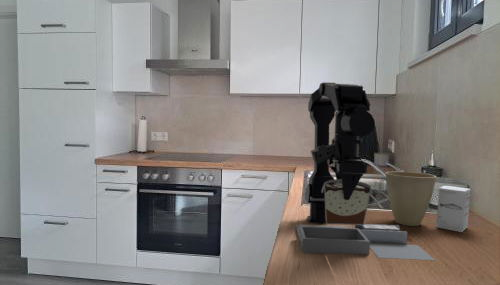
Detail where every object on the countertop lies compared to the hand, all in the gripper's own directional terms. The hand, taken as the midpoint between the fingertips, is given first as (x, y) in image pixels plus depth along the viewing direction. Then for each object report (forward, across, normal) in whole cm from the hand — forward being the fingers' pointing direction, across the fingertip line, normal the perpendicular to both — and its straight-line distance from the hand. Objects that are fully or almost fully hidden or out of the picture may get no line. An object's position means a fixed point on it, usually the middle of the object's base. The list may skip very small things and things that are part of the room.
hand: (343, 197), depth 87 cm
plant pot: (+13, -27, +26) cm, 40 cm away
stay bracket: (+13, -7, +12) cm, 19 cm away
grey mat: (+13, +1, +14) cm, 19 cm away
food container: (+6, -1, 0) cm, 6 cm away
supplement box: (+13, -23, +38) cm, 47 cm away
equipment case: (+13, -6, -2) cm, 14 cm away
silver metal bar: (+12, -7, +12) cm, 18 cm away
